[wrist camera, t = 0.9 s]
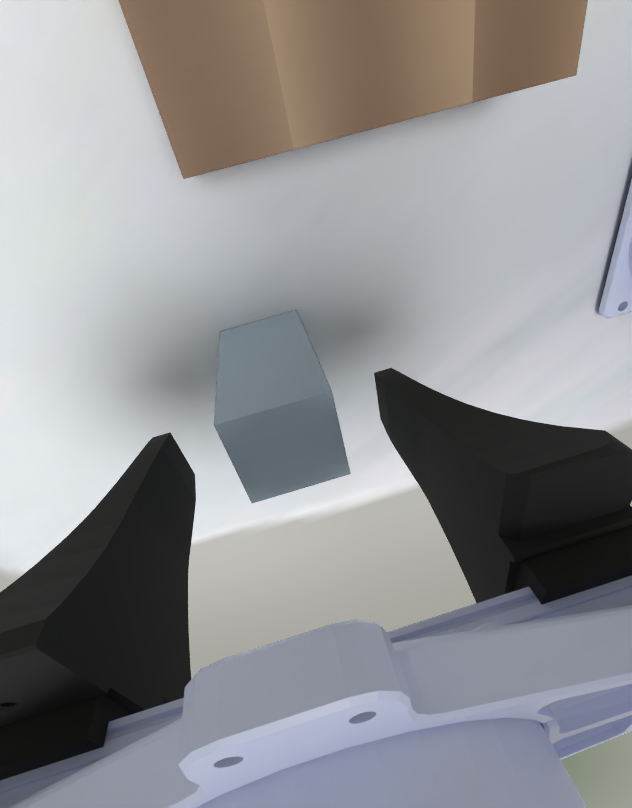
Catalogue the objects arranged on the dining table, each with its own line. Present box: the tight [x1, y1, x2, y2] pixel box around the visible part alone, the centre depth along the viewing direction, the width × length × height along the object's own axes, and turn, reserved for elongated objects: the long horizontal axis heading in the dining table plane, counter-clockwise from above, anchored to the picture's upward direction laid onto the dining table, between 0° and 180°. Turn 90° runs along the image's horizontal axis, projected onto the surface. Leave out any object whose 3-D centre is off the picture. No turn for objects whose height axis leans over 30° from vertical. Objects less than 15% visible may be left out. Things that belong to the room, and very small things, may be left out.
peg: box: [214, 310, 350, 503], centre depth 14 cm, size 4×4×7 cm
